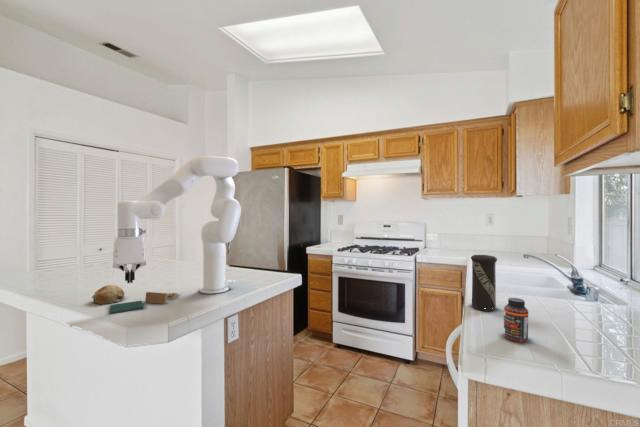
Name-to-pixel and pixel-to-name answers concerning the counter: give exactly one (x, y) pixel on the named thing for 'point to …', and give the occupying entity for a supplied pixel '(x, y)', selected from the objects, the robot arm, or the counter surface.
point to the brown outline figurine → (158, 297)
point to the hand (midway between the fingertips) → (129, 282)
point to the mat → (126, 307)
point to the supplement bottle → (516, 320)
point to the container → (483, 282)
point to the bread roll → (108, 294)
